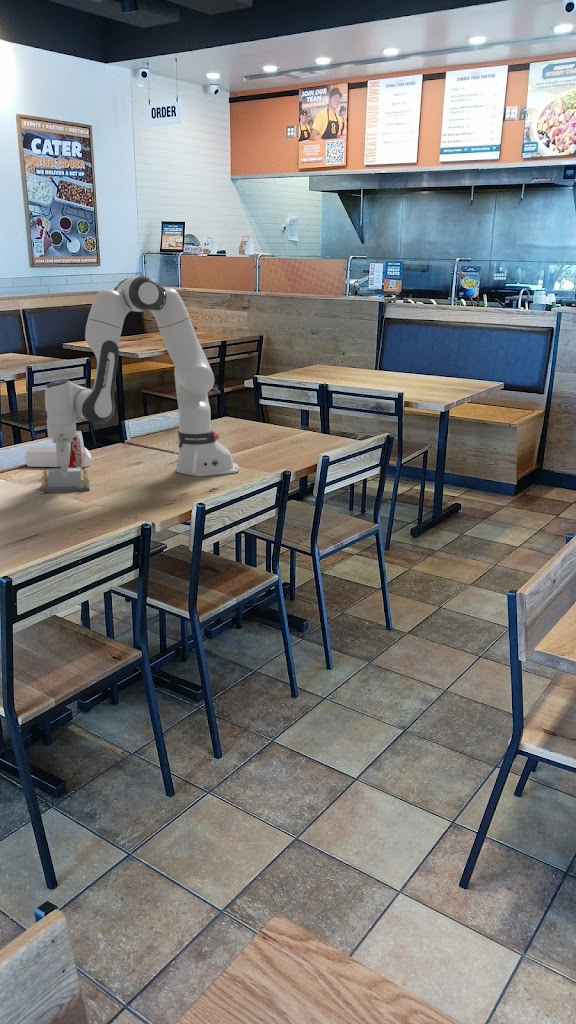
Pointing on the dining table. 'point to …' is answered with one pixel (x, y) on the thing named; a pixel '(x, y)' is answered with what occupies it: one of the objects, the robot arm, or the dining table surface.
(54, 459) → the white faceted prism
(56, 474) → the grey rectangular block
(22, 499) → the dining table surface
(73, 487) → the tray
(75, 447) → the soda can
